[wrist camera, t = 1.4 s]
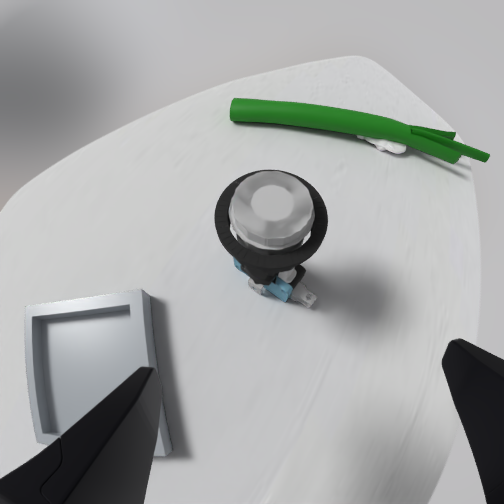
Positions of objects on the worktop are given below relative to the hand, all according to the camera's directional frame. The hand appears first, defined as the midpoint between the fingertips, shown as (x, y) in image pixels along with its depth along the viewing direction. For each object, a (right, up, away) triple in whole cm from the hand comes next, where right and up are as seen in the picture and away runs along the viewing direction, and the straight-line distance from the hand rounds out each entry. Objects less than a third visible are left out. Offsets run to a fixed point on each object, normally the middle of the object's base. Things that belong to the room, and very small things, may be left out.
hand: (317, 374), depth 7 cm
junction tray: (-14, -6, +11) cm, 19 cm away
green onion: (+11, +16, +21) cm, 28 cm away
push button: (0, +1, +14) cm, 14 cm away
